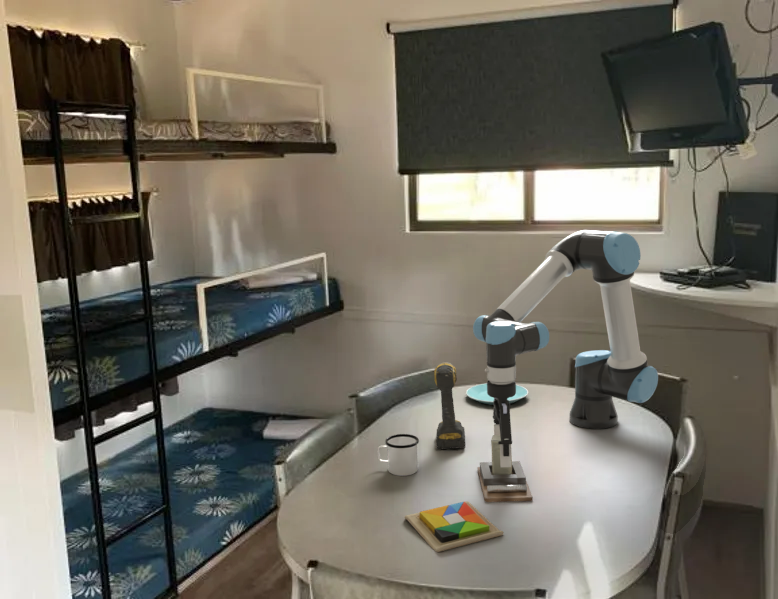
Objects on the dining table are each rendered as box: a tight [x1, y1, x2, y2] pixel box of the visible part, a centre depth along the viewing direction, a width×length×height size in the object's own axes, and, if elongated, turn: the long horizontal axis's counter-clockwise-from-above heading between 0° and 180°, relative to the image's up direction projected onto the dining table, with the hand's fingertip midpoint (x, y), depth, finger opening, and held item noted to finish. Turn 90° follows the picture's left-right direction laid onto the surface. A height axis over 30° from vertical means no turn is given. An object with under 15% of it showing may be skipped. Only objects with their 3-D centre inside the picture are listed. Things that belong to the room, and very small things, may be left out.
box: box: [490, 434, 513, 475], centre depth 207 cm, size 5×4×11 cm
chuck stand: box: [477, 460, 533, 503], centre depth 205 cm, size 12×20×3 cm, turn 179°
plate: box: [465, 382, 529, 406], centre depth 277 cm, size 22×22×3 cm
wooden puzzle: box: [404, 501, 504, 553], centre depth 182 cm, size 18×19×4 cm
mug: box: [377, 433, 420, 477], centre depth 217 cm, size 12×10×9 cm
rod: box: [487, 485, 527, 493], centre depth 198 cm, size 10×2×2 cm, turn 89°
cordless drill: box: [433, 361, 466, 450], centre depth 236 cm, size 9×20×25 cm, turn 174°
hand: (502, 456), depth 207 cm, fingers open, 13 cm apart
